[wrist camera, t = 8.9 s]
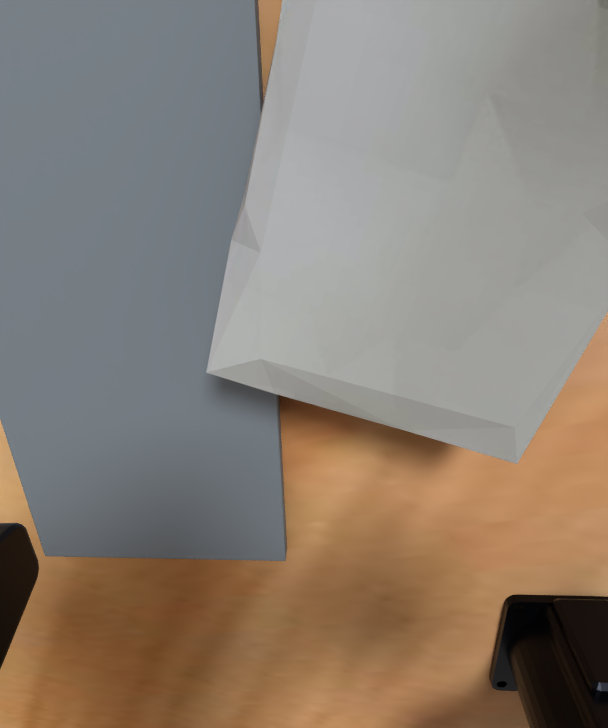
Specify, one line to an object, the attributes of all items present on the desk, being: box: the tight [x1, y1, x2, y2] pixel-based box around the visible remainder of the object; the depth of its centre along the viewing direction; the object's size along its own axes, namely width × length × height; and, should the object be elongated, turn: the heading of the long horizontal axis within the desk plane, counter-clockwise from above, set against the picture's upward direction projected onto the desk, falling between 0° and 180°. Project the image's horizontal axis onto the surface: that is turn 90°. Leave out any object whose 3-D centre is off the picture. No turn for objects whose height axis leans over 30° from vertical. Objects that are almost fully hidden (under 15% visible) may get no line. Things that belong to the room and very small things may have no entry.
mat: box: [0, 0, 287, 561], centre depth 19 cm, size 22×11×1 cm, turn 1°
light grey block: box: [206, 0, 608, 464], centre depth 13 cm, size 18×5×10 cm
